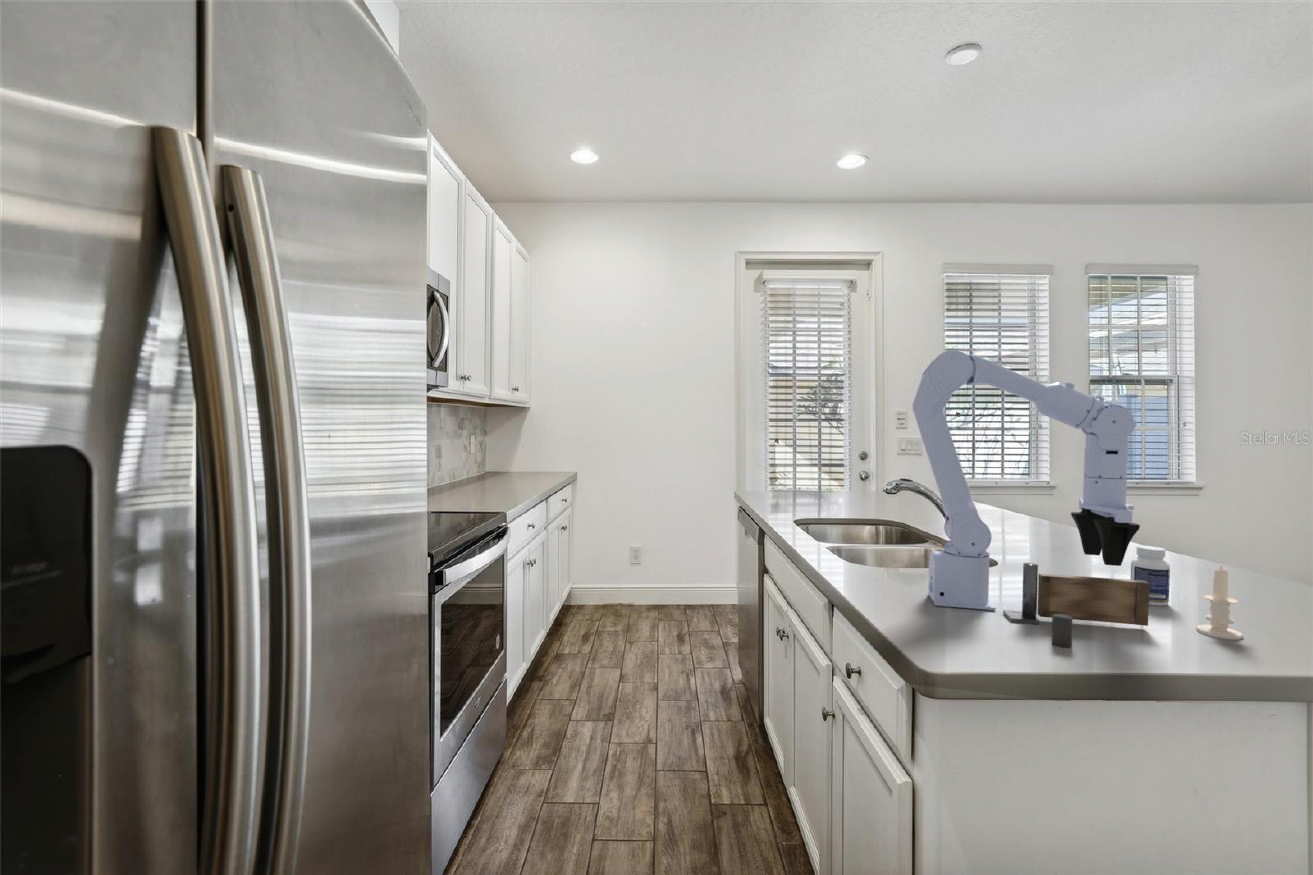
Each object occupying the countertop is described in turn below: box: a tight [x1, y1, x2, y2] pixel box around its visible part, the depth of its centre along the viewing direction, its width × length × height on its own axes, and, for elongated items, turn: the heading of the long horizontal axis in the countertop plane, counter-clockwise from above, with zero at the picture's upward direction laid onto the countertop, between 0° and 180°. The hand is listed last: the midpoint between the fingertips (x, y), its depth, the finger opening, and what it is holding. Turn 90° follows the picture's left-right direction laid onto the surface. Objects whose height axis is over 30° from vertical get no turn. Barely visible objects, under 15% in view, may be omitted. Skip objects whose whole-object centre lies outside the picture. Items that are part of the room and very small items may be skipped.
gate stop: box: [1051, 614, 1074, 648], centre depth 88 cm, size 2×2×4 cm
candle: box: [1196, 565, 1244, 641], centre depth 93 cm, size 5×5×10 cm
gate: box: [1037, 573, 1150, 627], centre depth 96 cm, size 15×2×7 cm, turn 75°
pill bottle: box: [1130, 545, 1171, 607], centre depth 109 cm, size 5×5×10 cm
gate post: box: [1002, 562, 1040, 625], centre depth 99 cm, size 4×4×9 cm
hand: (1101, 559), depth 101 cm, fingers open, 7 cm apart
